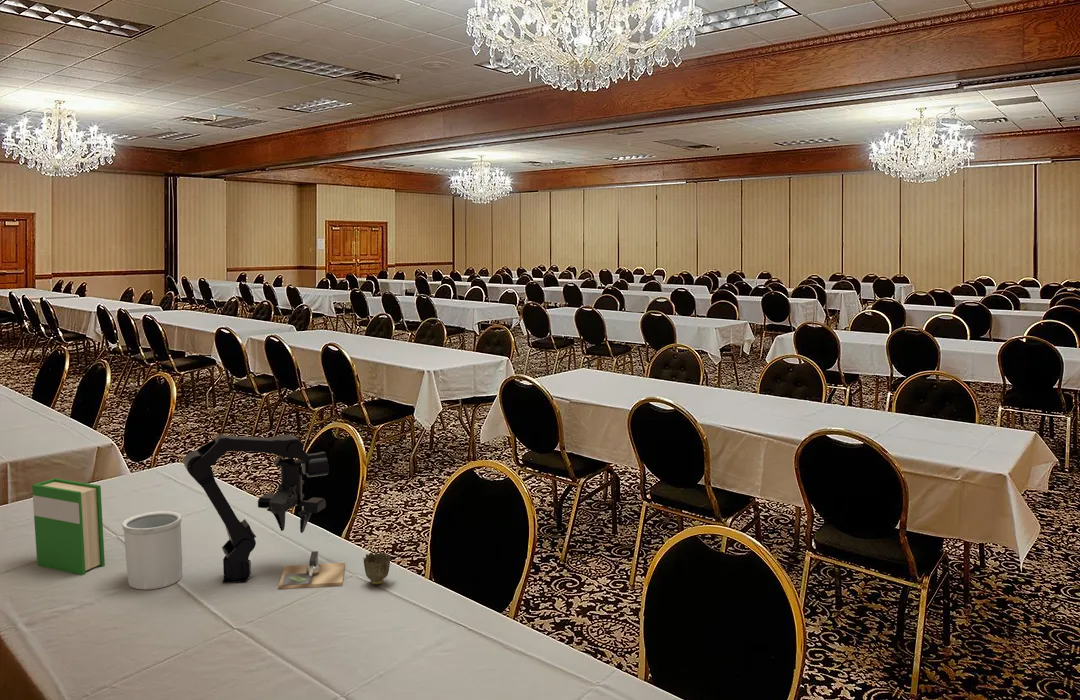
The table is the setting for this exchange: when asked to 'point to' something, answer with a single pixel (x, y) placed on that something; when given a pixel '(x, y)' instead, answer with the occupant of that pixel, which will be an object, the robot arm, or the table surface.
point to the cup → (377, 567)
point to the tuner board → (300, 579)
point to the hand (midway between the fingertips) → (292, 531)
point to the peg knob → (313, 564)
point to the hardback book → (68, 525)
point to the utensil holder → (153, 549)
